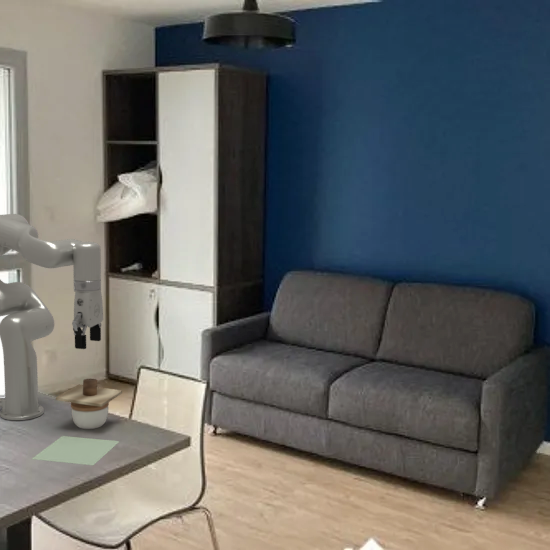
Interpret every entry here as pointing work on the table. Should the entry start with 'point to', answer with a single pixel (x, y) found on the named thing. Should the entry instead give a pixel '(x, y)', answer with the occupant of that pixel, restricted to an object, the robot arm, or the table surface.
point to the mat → (76, 450)
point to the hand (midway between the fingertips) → (88, 344)
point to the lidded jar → (89, 415)
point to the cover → (89, 394)
